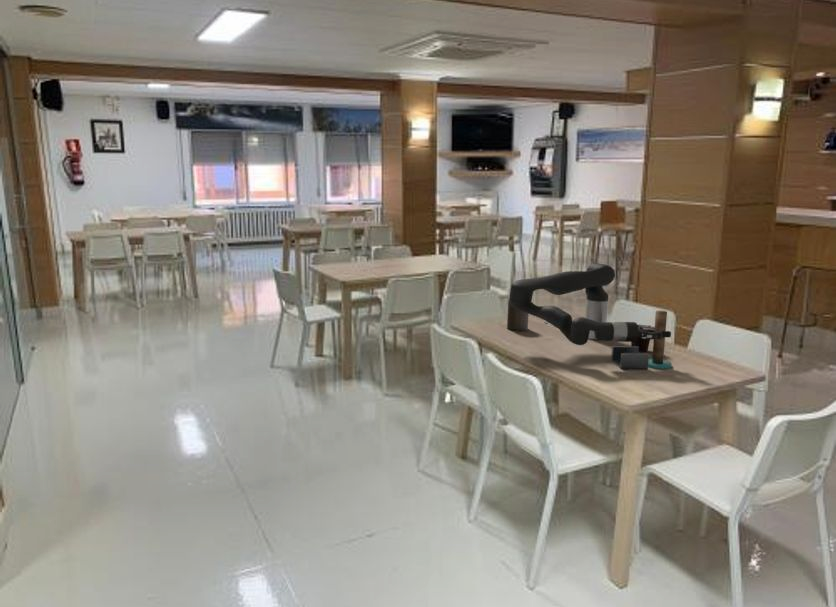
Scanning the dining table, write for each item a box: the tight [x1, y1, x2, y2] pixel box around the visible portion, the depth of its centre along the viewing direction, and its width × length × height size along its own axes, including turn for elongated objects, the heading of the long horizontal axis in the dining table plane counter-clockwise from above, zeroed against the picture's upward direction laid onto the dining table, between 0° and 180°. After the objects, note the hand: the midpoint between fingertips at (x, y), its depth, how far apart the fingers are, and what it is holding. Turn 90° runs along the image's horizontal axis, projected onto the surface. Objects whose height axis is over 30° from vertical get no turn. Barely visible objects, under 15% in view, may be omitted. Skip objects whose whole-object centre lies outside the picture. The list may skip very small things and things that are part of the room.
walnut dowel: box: [651, 310, 668, 364], centre depth 242 cm, size 4×4×20 cm
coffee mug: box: [630, 324, 651, 353], centre depth 263 cm, size 12×9×10 cm
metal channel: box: [610, 345, 650, 371], centre depth 244 cm, size 12×10×6 cm
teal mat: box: [648, 358, 673, 370], centre depth 245 cm, size 10×10×1 cm
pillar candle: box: [506, 299, 529, 332], centre depth 298 cm, size 10×10×15 cm
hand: (667, 332), depth 242 cm, fingers open, 5 cm apart
